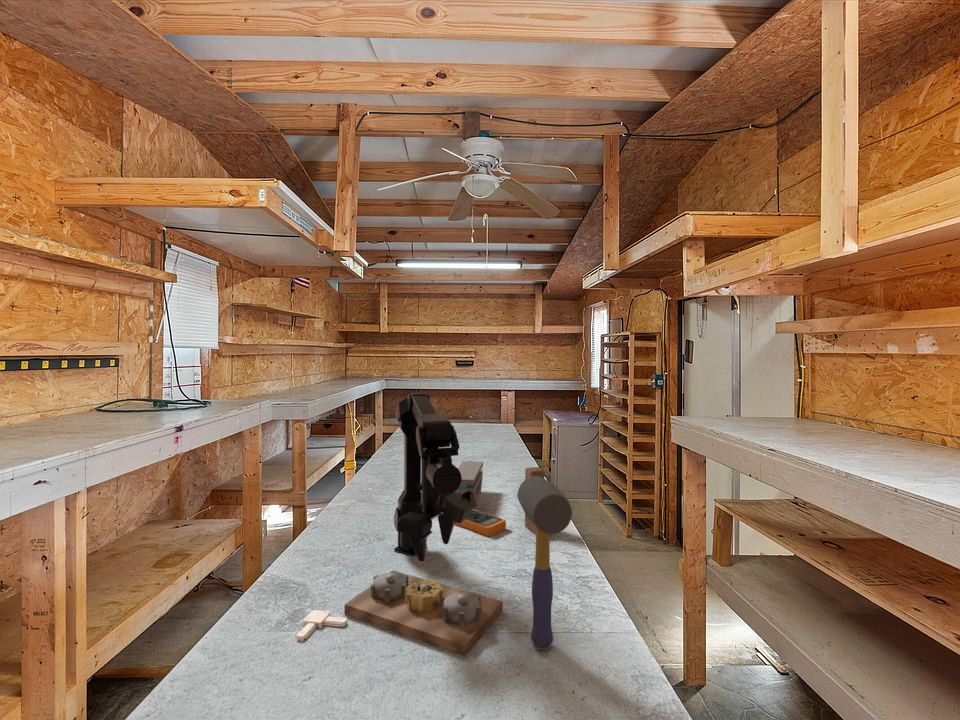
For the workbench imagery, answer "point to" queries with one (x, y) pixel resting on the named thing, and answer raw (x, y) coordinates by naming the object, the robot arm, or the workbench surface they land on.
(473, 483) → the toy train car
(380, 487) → the workbench surface
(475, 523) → the multimeter
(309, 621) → the corner connector
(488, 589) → the workbench surface
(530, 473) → the wooden block
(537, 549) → the rubber mallet
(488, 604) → the gear board
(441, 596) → the brass gear
